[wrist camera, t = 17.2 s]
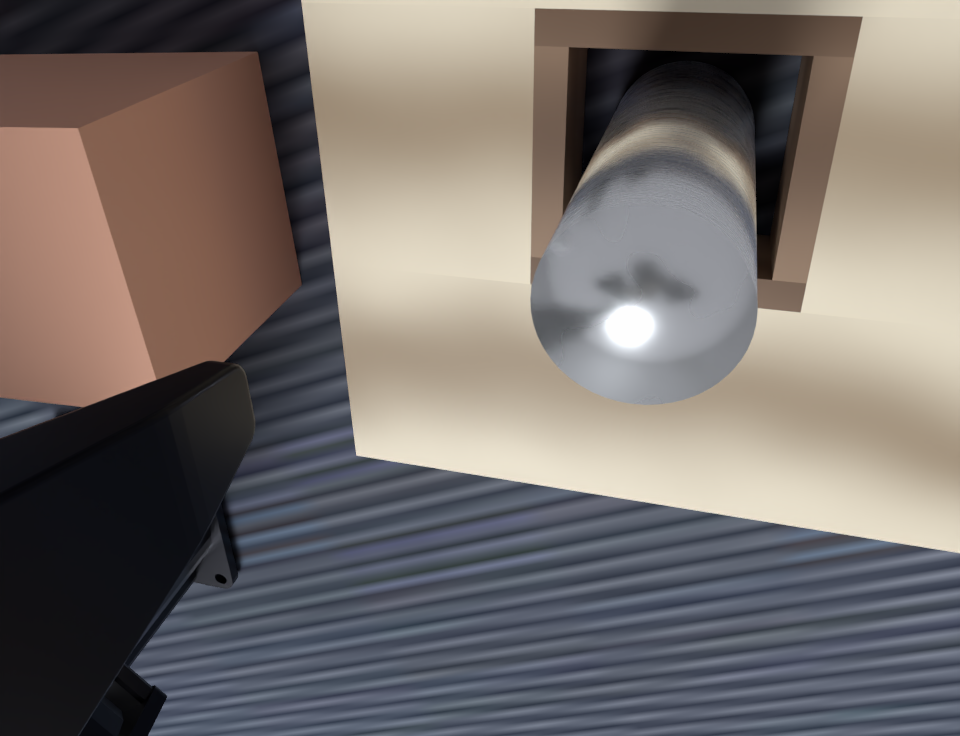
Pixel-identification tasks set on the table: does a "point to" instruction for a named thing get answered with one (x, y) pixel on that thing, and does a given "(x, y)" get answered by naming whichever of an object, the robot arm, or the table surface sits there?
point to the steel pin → (657, 244)
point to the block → (134, 219)
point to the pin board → (542, 202)
